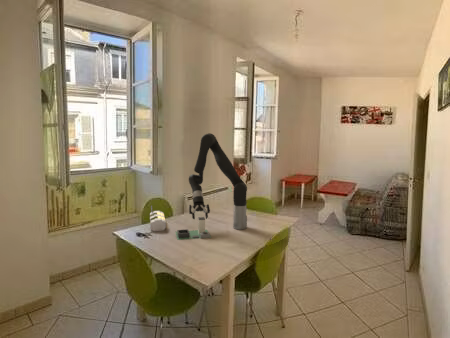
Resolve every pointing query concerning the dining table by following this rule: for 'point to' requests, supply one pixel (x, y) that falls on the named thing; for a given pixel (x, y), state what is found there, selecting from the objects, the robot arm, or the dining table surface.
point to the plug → (201, 225)
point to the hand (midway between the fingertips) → (200, 218)
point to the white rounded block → (157, 221)
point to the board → (191, 234)
